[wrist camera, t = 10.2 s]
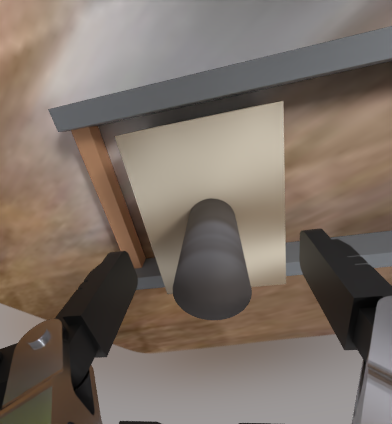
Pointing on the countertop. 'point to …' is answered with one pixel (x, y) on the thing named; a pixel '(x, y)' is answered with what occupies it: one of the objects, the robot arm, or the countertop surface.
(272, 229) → the beige block
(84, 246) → the countertop surface
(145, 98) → the frame
